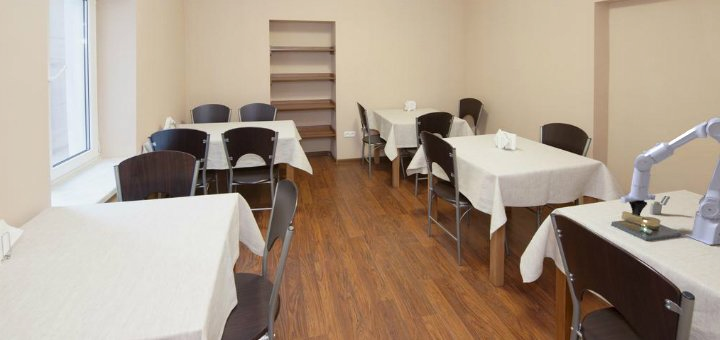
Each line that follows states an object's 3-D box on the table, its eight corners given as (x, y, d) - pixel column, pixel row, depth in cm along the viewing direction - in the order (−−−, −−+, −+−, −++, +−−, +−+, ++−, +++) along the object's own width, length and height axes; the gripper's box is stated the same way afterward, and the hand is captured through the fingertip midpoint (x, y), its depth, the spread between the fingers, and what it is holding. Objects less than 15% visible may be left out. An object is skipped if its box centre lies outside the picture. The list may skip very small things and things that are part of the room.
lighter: (652, 214, 190) (655, 196, 188) (649, 213, 191) (652, 195, 189) (667, 213, 190) (670, 195, 188) (664, 212, 192) (667, 194, 190)
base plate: (680, 236, 167) (681, 228, 166) (645, 240, 163) (647, 232, 162) (643, 221, 182) (644, 214, 181) (611, 225, 178) (612, 217, 177)
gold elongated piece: (662, 227, 170) (663, 220, 169) (653, 230, 167) (654, 223, 166) (627, 217, 181) (628, 210, 181) (618, 219, 178) (619, 212, 178)
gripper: (646, 180, 179) (641, 213, 182) (616, 183, 175) (611, 216, 179) (662, 185, 172) (656, 219, 176) (631, 188, 169) (626, 222, 172)
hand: (635, 218), depth 177 cm, fingers closed, pressing on gold elongated piece
